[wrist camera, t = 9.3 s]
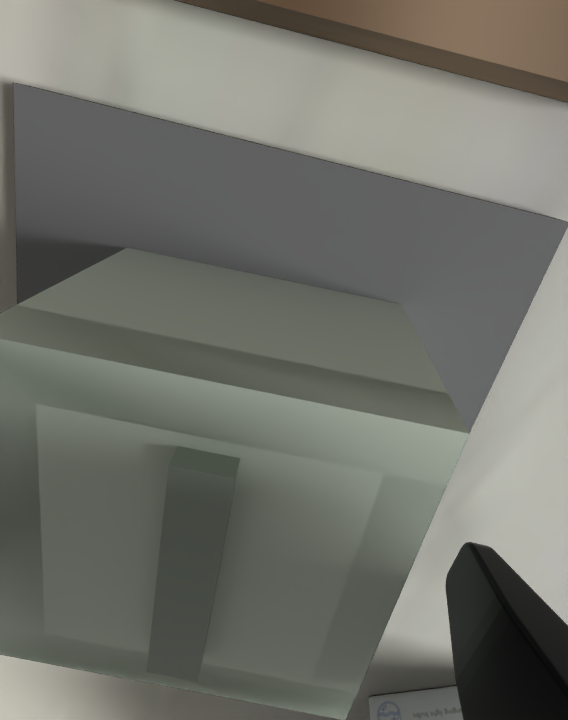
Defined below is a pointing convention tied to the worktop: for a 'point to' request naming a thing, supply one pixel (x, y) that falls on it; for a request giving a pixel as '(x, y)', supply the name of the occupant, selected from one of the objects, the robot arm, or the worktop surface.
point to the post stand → (436, 34)
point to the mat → (275, 226)
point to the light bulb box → (417, 705)
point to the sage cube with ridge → (214, 478)
